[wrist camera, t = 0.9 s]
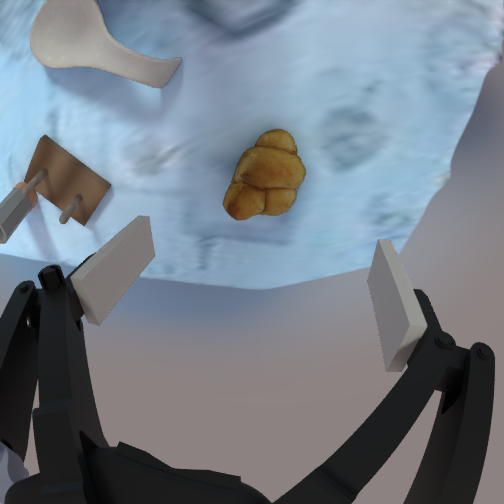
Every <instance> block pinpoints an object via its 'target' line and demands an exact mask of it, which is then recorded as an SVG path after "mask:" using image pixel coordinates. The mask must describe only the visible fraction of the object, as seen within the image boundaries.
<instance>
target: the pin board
mask: <svg viewBox="0 0 504 504" xmlns="http://www.w3.org/2000/svg"><path fill="white" fill-rule="evenodd" d="M24 182H25V183H27V185H26V186H25V187H24V188H23V189H22V194H23V195H24V196H27V195H29V194H30V192H31V191H32V190H33V189H34V190H36V191H37V192H38V193H40V194H41V195H42V196H43V197H45V198H46V199H47V200H49V201H50V202H51V203H53V204H54V205H55V206H57V207H58V208H59V209H61V210H62V211H64V212H63V213H62V215H61V216H60V218H59V221H60V223H61V224H65V223H66V222H67V221H68V220H69V218H70V217H72V218H73V219H75V220H76V221H77V222H79V223H80V224H82V225H83V226H85V225H86V223H87V221H88V220H89V218H90V216H91V215H92V213H93V212H94V210H95V209H96V207H97V205H98V204H99V202H100V201H101V199H102V198H103V196H104V195H105V193H106V192H107V190H108V189H109V187H110V186H111V184H110V183H108V182H107V181H106V180H104V179H103V178H102V177H100V176H99V175H98V174H96V173H95V172H94V171H92V170H91V169H90V168H88V167H87V166H86V165H84V164H83V163H82V162H80V161H79V160H78V159H76V158H75V157H74V156H72V155H71V154H70V153H69V152H67V151H66V150H65V149H63V148H62V147H61V146H59V145H58V144H57V143H55V142H54V141H53V140H52V139H50V138H49V137H48V136H46V135H44V136H43V137H41V138H40V140H39V142H38V145H37V147H36V150H35V152H34V155H33V157H32V160H31V162H30V165H29V168H28V171H27V173H26V176H25V179H24Z"/></svg>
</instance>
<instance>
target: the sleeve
mask: <svg viewBox="0 0 504 504" xmlns="http://www.w3.org/2000/svg"><path fill="white" fill-rule="evenodd" d="M26 185H27V183H25V182H21V183H18V184H17V185H16V186H15V187H14V188H13V190H12V191H11V192H10V193H9V194H8V195H7V197H6V198H5V199H4V200H3V201H2V202H1V203H0V244H5V243H6V242H7V240H8V239H9V238H10V236H11V235H12V233H13V232H14V231H15V229H16V228H17V227H18V225H19V224H20V223H21V221H22V220H23V219H24V218H25V216H26V215H27V214H28V213H29V212H30V211H31V210H32V209H33V207H34V206H35V204H36V202H37V199H38V197H37V194H36V192H35V190H34V189H33V190H32V191H31V192H30V194H29V195H27V196H24V195H23V194H22V189H23V188H24V187H25V186H26Z"/></svg>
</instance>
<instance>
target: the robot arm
mask: <svg viewBox="0 0 504 504" xmlns="http://www.w3.org/2000/svg"><path fill="white" fill-rule="evenodd" d="M154 257H155V252H154V246H153V239H152V233H151V226H150V219H149V216H138V217H136V218H135V219H134V220H133V221H132V222H130V223H129V224H128V225H127V226H126V227H125V228H123V229H122V230H121V231H120V232H119V233H118V234H116V235H115V236H114V237H113V238H112V239H111V240H110V241H108V242H107V243H106V244H105V245H104V246H103V247H102V248H101V249H99V250H98V251H97V252H96V253H94V254H92V255H90V256H88V257H87V258H86V259H85V260H84V261H83V263H81V264H80V265H79V266H78V267H77V268H76V269H74V271H72V272H71V273H70V274H69V275H68V276H67V277H66V278H64V276H63V273H62V270H61V267H60V266H59V265H50V266H47V267H45V268H44V269H42V270H41V271H40V272H39V274H38V278H39V281H40V283H41V286H42V288H43V289H36V287H35V285H34V282H33V281H29V280H28V281H23V282H21V283H20V284H19V285H18V286H17V287H16V288H15V290H14V292H13V294H12V296H11V298H10V299H9V302H8V304H7V306H6V307H5V310H4V312H3V314H2V316H1V318H0V502H1V503H2V504H351V503H352V502H353V501H354V500H355V499H356V497H357V495H358V493H359V492H360V491H361V490H362V489H363V487H364V486H365V485H366V484H367V483H368V482H369V481H370V480H371V479H372V477H373V476H374V475H375V474H376V473H377V472H378V470H379V469H380V468H381V467H382V466H383V464H384V463H385V462H386V461H387V460H388V458H389V457H390V456H391V454H392V453H393V452H394V451H395V449H396V448H397V447H398V445H399V444H400V443H401V441H402V440H403V439H404V437H405V436H406V434H407V433H408V431H409V430H410V429H411V427H412V426H413V424H414V423H415V421H416V420H417V418H418V417H419V415H420V413H421V412H422V410H423V409H424V407H425V406H426V404H427V402H428V400H429V399H430V397H431V396H432V394H433V392H434V390H438V391H441V392H442V395H441V399H440V403H439V407H438V411H437V415H436V418H435V422H434V425H433V429H432V432H431V435H430V439H429V442H428V445H427V447H426V450H425V453H424V456H423V459H422V461H421V464H420V467H419V469H418V472H417V474H416V477H415V479H414V481H413V484H412V486H411V488H410V491H409V493H408V495H407V497H406V499H405V501H404V503H403V504H473V502H474V499H475V495H476V492H477V489H478V485H479V482H480V478H481V474H482V470H483V465H484V461H485V456H486V451H487V446H488V440H489V434H490V427H491V419H492V410H493V399H494V381H495V356H494V353H493V351H492V349H491V348H490V347H489V346H488V345H486V344H484V343H481V342H477V343H475V344H473V345H472V347H471V348H470V350H469V349H466V348H462V347H459V346H456V343H455V340H454V339H453V337H452V336H451V335H449V334H448V333H446V332H444V331H442V329H441V327H440V324H439V322H438V319H437V317H436V315H435V312H433V311H434V310H433V307H432V306H431V303H430V301H429V298H428V296H426V294H425V293H424V292H423V291H422V290H419V289H413V288H412V286H411V283H410V281H409V279H408V276H407V274H406V272H405V270H404V268H403V266H402V263H401V261H400V259H399V257H398V255H397V252H396V250H395V248H394V246H393V244H392V242H391V241H390V240H382V239H378V241H377V245H376V249H375V253H374V257H373V261H372V265H371V268H370V272H369V276H368V280H367V282H368V286H369V290H370V294H371V299H372V302H373V307H374V312H375V316H376V321H377V326H378V330H379V336H380V341H381V346H382V352H383V358H384V364H385V370H386V371H390V372H391V371H392V372H393V371H395V372H401V371H402V370H403V368H404V366H405V365H406V363H407V365H408V368H407V369H406V371H405V372H404V374H403V375H402V376H401V378H400V379H399V380H398V382H397V383H396V384H395V386H394V387H393V388H392V390H391V391H390V392H389V393H388V394H387V396H386V397H385V398H384V399H383V401H382V402H381V403H380V404H379V405H378V407H377V408H376V409H375V410H374V412H373V413H372V414H371V415H370V416H369V417H368V418H367V419H366V420H365V422H364V423H363V424H362V425H361V426H360V427H359V428H358V429H357V430H356V431H355V432H354V433H353V435H352V436H351V437H350V438H349V439H348V440H347V441H346V442H345V443H344V444H343V445H342V446H341V447H340V448H339V449H338V450H337V451H336V452H335V453H334V454H333V455H332V456H330V457H329V458H328V459H327V460H326V461H325V462H324V463H323V464H322V465H320V466H319V467H317V468H316V469H315V470H314V471H313V472H311V473H310V474H309V475H308V476H307V477H305V478H304V479H303V480H302V481H301V482H299V483H298V484H297V485H296V486H294V487H293V488H292V489H291V490H289V491H288V492H287V493H285V494H284V495H283V496H281V497H280V498H279V499H277V500H276V501H275V502H273V503H271V502H270V501H269V500H268V499H267V498H266V497H265V496H264V495H263V494H262V493H260V492H259V491H258V490H256V489H255V488H253V487H251V486H249V485H247V484H245V483H242V482H241V477H240V476H235V475H229V474H225V473H220V472H215V471H211V470H192V469H191V470H190V469H175V468H172V467H170V466H168V465H167V464H165V463H163V462H162V461H160V460H158V459H157V458H155V457H153V456H152V455H151V454H149V453H147V452H146V451H143V450H141V449H138V448H135V447H132V446H130V445H128V444H125V443H122V442H119V444H118V446H117V447H110V446H109V445H108V443H107V441H106V439H105V438H104V435H103V432H102V428H101V425H100V421H99V417H98V413H97V408H96V404H95V399H94V395H93V390H92V385H91V379H90V374H89V368H88V362H87V355H86V348H85V340H84V331H83V323H82V321H81V317H82V316H83V314H85V316H86V319H87V321H88V323H92V324H95V325H98V326H100V325H101V323H102V322H103V320H104V319H105V318H106V317H107V315H108V314H109V313H110V311H111V310H112V309H113V308H114V306H115V305H116V304H117V302H118V301H119V300H120V299H121V297H122V296H123V295H124V293H125V292H126V291H127V289H128V288H129V287H130V286H131V284H133V282H134V281H135V280H136V279H137V277H138V276H139V275H140V274H141V272H142V271H143V270H144V269H145V268H146V266H147V265H148V264H149V263H150V262H151V260H152V259H153V258H154ZM27 320H28V322H29V325H27ZM37 381H38V386H39V403H40V404H39V408H35V409H34V410H33V413H32V408H33V402H34V396H35V390H36V386H37ZM31 414H32V417H33V430H34V439H35V446H36V453H37V459H38V465H39V470H40V473H38V474H35V475H33V476H30V477H29V472H28V470H27V469H26V468H24V464H23V463H24V460H25V456H26V451H27V446H28V438H29V430H30V422H31Z"/></svg>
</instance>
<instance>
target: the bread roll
mask: <svg viewBox="0 0 504 504" xmlns="http://www.w3.org/2000/svg"><path fill="white" fill-rule="evenodd" d="M305 171H306V170H305V167H304V165H303V163H302V161H301V158H300V157H299V156H298V155H297V147H296V145H295V142H294V139H293V137H292V136H291V135H290V134H289V133H288V132H287V131H284V130H282V129H274V130H271V131H268V132H266V133H264V134H263V135H261V136H260V138H259V139H258V140H257V142H256V144H255V146H254V147H252V148H249V149H247V150H246V151H245V152H244V153H243V155H242V156H241V158H240V160H239V162H238V164H237V167H236V170H235V173H234V176H233V178H232V181H231V185H230V186H229V188H228V190H227V192H226V194H225V197H224V200H223V206H224V208H225V210H226V212H227V213H228V214H229V215H230V216H231V217H232V218H234V219H236V220H246V219H248V218H250V217H252V216H254V215H258V214H261V215H269V216H276V215H280V214H282V213H284V212H288V209H289V208H290V207H291V206H292V205H293V203H294V202H295V200H296V195H297V191H296V189H297V188H298V187H299V186H300V184H301V183H302V182H303V180H304V177H305V175H306V172H305Z"/></svg>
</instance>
